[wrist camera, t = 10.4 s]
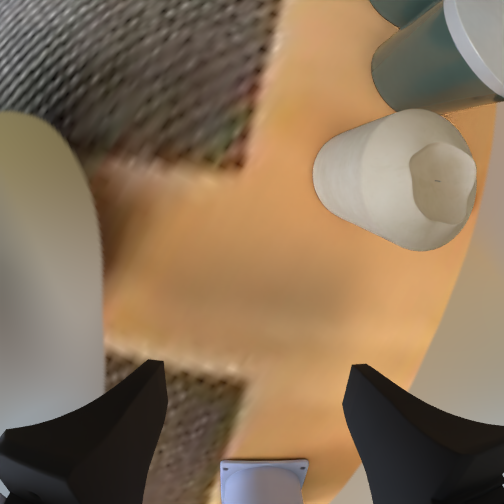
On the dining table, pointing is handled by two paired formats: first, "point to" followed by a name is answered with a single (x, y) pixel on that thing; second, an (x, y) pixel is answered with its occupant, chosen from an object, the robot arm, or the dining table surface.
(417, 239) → the candle
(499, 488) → the robot arm
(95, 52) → the dining table surface
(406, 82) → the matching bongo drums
